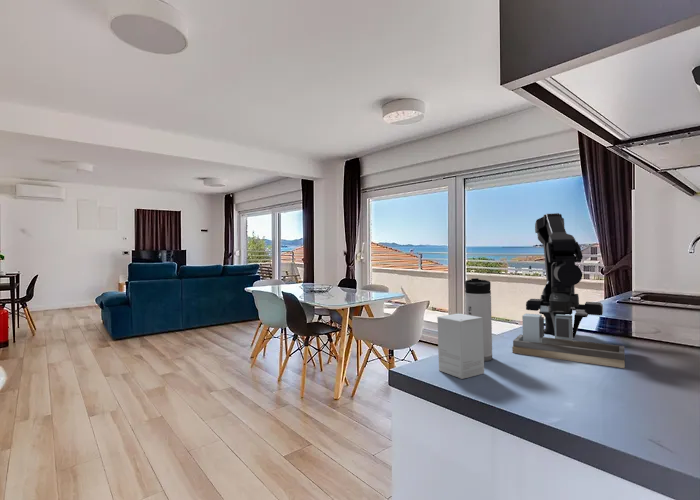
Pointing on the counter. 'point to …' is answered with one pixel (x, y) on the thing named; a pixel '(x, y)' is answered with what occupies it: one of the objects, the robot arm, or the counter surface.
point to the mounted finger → (533, 328)
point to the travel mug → (480, 309)
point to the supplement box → (461, 345)
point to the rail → (572, 351)
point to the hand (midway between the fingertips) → (563, 336)
